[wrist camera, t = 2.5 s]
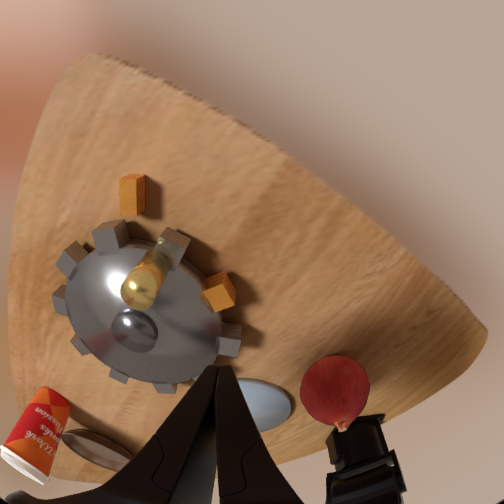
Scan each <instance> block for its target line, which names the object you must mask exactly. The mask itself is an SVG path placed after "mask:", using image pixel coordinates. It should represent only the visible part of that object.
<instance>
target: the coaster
mask: <svg viewBox="0 0 504 504" xmlns="http://www.w3.org/2000/svg"><path fill="white" fill-rule="evenodd" d="M237 380H238V383H239V385H240V388H241V390H242V393H243V395H244V398H245V400H246V402H247V405H248V407H249V410H250V412H251V414H252V417H253V419H254V421H255V424H256V426H257V428H258V431H259V432H264V431H267V430H270V429H273V428H275V427H277V426H279V425H281V424H282V423H283V422H284V421H285V420H286V419H287V418H288V417H289V415H290V412H291V404H290V399H289V397H288V395H287V394H286V392H285V391H283V390H282V389H281V388H279V387H278V386H276V385H274V384H271V383H269V382H266V381H262V380H257V379H248V378H237Z"/></svg>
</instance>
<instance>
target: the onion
mask: <svg viewBox="0 0 504 504" xmlns="http://www.w3.org/2000/svg"><path fill="white" fill-rule="evenodd" d="M369 391H370V383H369V379H368V377H367V374H366V372H365V370H364V368H363V367H362V366H361V365H360V364H359V363H357V362H356V361H354V360H353V359H351V358H349V357H345V356H340V355H335V356H325V357H323V358H322V359H320V360H318V361H317V362H315V363H314V364H313V365H312V366H310V368H309V369H308V370H307V372H306V373H305V375H304V377H303V379H302V382H301V387H300V398H301V401H302V403H303V405H304V407H305V408H306V410H307V412H308V413H309V414H310V415H311V416H312V417H313V418H314V419H316V420H318V421H320V422H322V423H324V424H327V425H332V426H336V427H337V428H338V431H339V432H342V431H345V430H347V429H348V427H349V425H350V424H351V423H352V422H353V421H354V420H355V419H356V418H357V416H358V415H359V414H360V413H361V412H362V410H363V409H364V407H365V405H366V403H367V399H368V395H369Z"/></svg>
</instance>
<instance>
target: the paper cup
mask: <svg viewBox="0 0 504 504" xmlns="http://www.w3.org/2000/svg"><path fill="white" fill-rule="evenodd" d="M70 411H71V406H70V404H69V403H68V402H67V400H66V399H65V398H64V397H62V396H61V395H60V394H59V393H57V392H56V391H54V390H52V389H50V388H48V387H41V388H40V389H39V391H38V392H37V393H36V395H35V396H34V398H33V399H32V401H31V402H30V404H29V405H28V407H27V408H26V410H25V411H24V413H23V414H22V416H21V417H20V419H19V421H18V422H17V424H16V426H15V427H14V429H13V430H12V432H11V434H10V435H9V437H8V439H7V440H6V442H5V444H4V446H1V449H2V450H1V457H2V458H3V459H4V460H5V461H7V462H8V463H9V464H10V465H12V466H13V467H14V468H16V469H17V470H19V471H20V472H21V473H23V474H24V475H26V476H27V477H29V478H31V479H33V480H34V481H36V482H38V483H40V484H42V485H44V484H45V483H46V482H47V481H49V480H50V479H49V478H48V476H49V473H50V470H51V466H52V463H53V460H54V457H55V454H56V451H57V448H58V445H59V442H60V439H61V436H62V433H63V430H64V428H65V425H66V422H67V419H68V416H69V414H70Z"/></svg>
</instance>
